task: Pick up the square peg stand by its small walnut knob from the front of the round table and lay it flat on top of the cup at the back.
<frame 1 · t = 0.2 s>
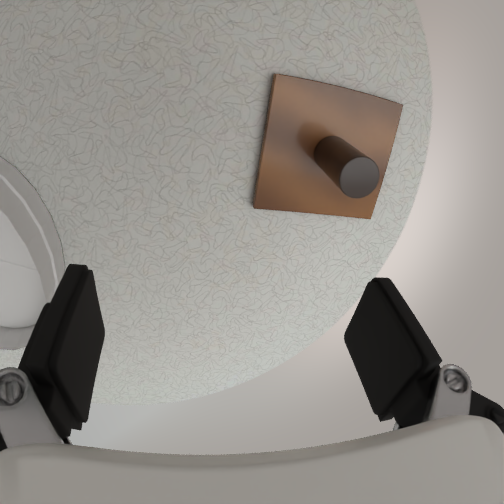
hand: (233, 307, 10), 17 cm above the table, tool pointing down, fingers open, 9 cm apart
square peg stand: (328, 150, 25), on the table
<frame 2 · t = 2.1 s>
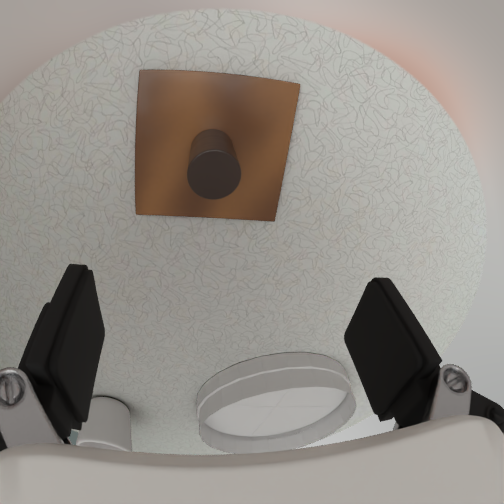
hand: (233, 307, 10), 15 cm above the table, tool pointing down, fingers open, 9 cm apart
cup: (105, 406, 40), on the table
square peg stand: (211, 146, 22), on the table
dish: (273, 397, 43), on the table
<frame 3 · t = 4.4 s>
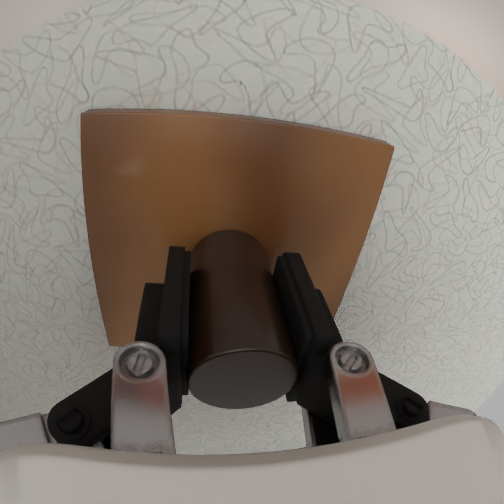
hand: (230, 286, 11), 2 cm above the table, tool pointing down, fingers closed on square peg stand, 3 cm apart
square peg stand: (226, 251, 13), on the table, touching gripper
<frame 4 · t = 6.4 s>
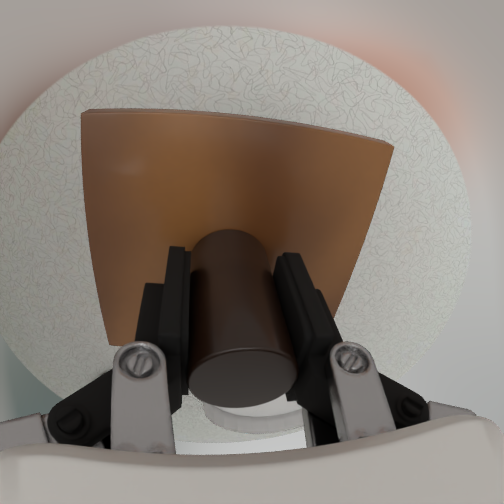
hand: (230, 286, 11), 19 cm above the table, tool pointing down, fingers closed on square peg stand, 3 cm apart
square peg stand: (226, 250, 13), point 16 cm above the table, touching gripper
dish: (272, 376, 47), on the table
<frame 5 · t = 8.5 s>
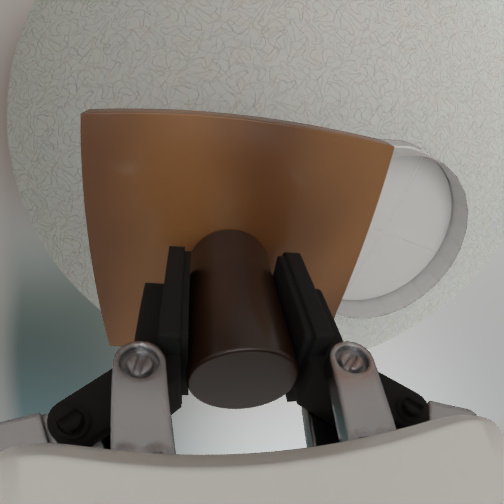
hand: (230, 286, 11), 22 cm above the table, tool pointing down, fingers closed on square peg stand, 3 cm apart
square peg stand: (226, 250, 13), point 20 cm above the table, touching gripper
dish: (377, 225, 38), on the table
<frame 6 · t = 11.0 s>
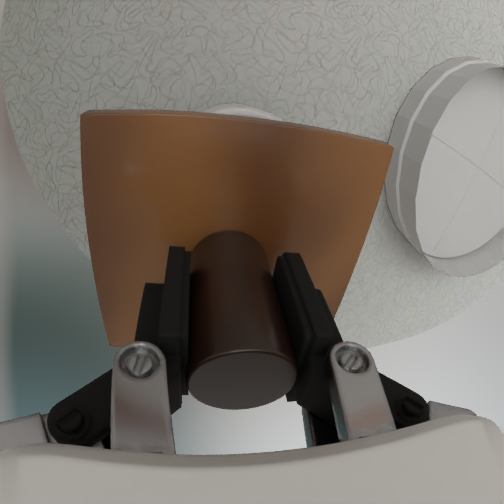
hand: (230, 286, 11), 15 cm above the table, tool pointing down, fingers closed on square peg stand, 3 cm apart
cup: (214, 156, 24), on the table
square peg stand: (226, 251, 13), point 13 cm above the table, touching gripper
dish: (469, 161, 26), on the table
when the fingers open (10 cm above the table, at t = 12.7 s): square peg stand stays where it is, resting on cup.
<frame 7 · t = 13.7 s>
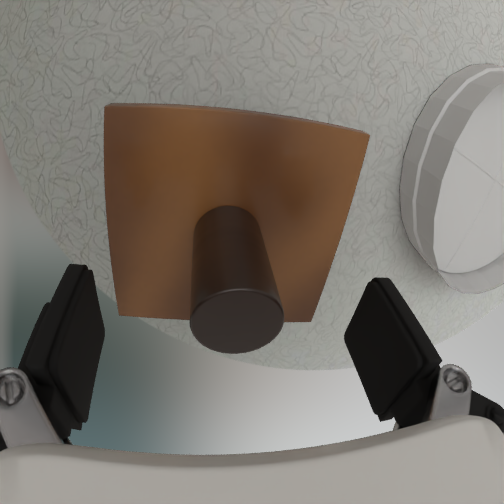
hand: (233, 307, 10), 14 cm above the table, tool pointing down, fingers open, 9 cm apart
square peg stand: (226, 226, 15), point 8 cm above the table, touching cup
dish: (485, 173, 24), on the table
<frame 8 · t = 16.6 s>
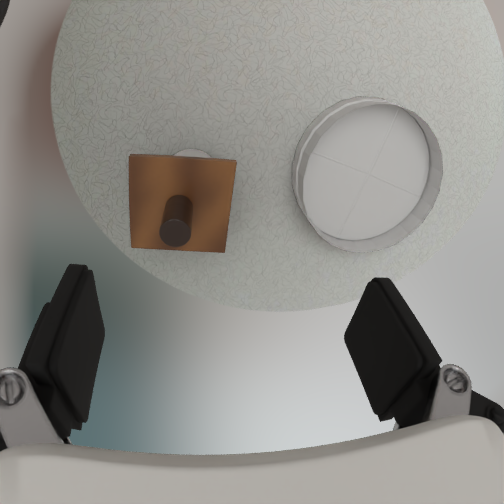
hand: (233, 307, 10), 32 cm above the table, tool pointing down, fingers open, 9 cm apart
square peg stand: (179, 204, 34), point 8 cm above the table, touching cup
dish: (364, 170, 43), on the table
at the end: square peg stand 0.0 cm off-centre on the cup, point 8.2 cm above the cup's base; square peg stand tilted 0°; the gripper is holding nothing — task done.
